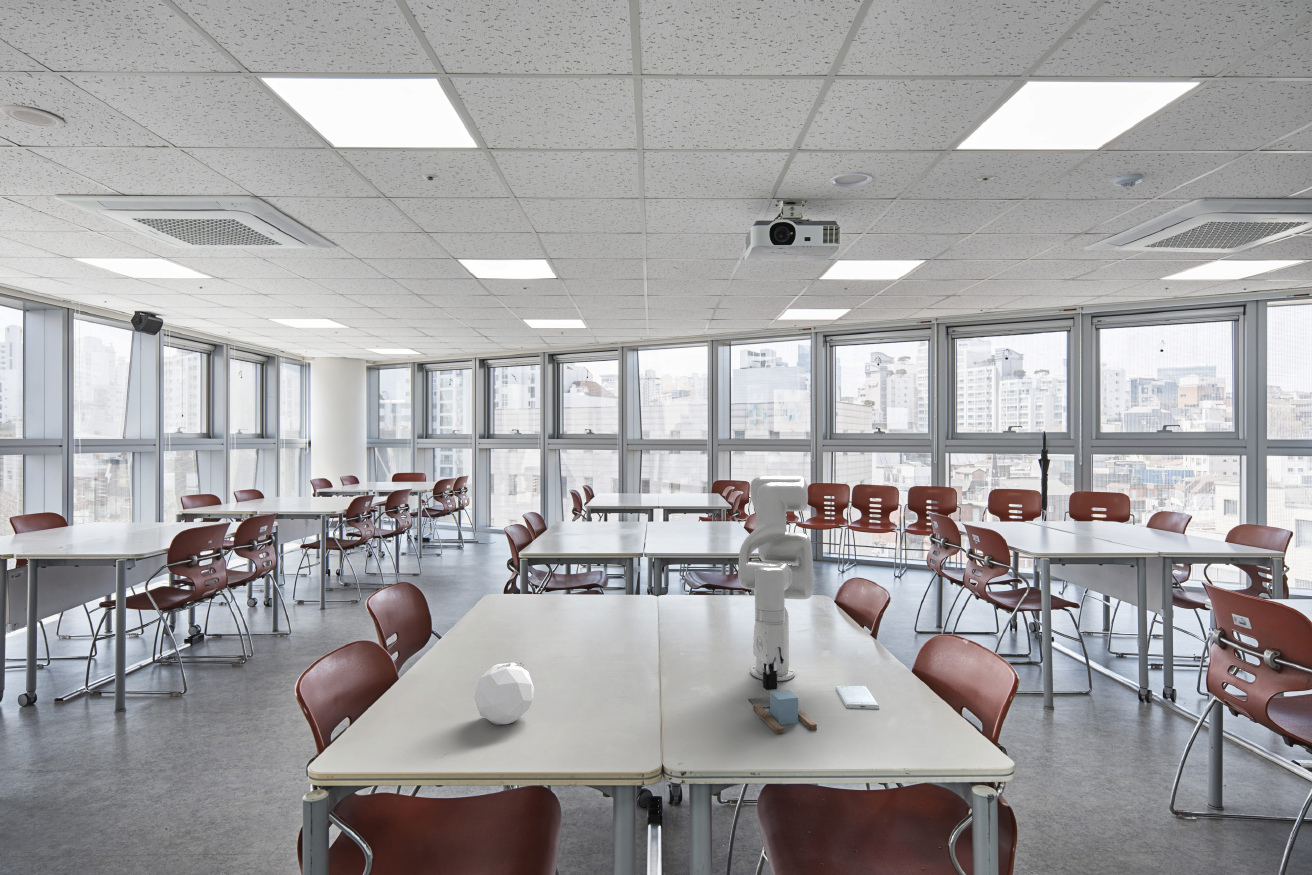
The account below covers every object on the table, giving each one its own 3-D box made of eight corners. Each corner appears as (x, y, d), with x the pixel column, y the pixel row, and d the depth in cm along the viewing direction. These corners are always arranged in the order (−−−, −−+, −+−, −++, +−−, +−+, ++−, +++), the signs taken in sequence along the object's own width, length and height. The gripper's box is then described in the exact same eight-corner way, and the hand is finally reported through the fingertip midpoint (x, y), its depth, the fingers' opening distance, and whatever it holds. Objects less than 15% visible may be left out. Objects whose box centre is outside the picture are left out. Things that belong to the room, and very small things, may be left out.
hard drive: (835, 685, 168) (846, 703, 156) (866, 685, 167) (879, 704, 155) (835, 691, 168) (846, 710, 155) (866, 692, 167) (879, 710, 155)
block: (770, 716, 151) (770, 691, 151) (788, 714, 152) (788, 689, 152) (778, 724, 146) (778, 699, 146) (798, 722, 147) (797, 697, 147)
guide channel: (744, 700, 160) (744, 695, 160) (780, 696, 163) (780, 691, 163) (777, 733, 141) (777, 728, 141) (816, 729, 143) (816, 724, 143)
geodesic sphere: (522, 676, 161) (494, 640, 155) (558, 689, 152) (531, 652, 146) (483, 727, 152) (452, 691, 145) (519, 744, 143) (488, 706, 136)
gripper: (745, 609, 163) (745, 680, 162) (768, 622, 149) (768, 700, 148) (771, 608, 165) (771, 678, 164) (796, 621, 151) (797, 697, 149)
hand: (770, 688), depth 156 cm, fingers closed
